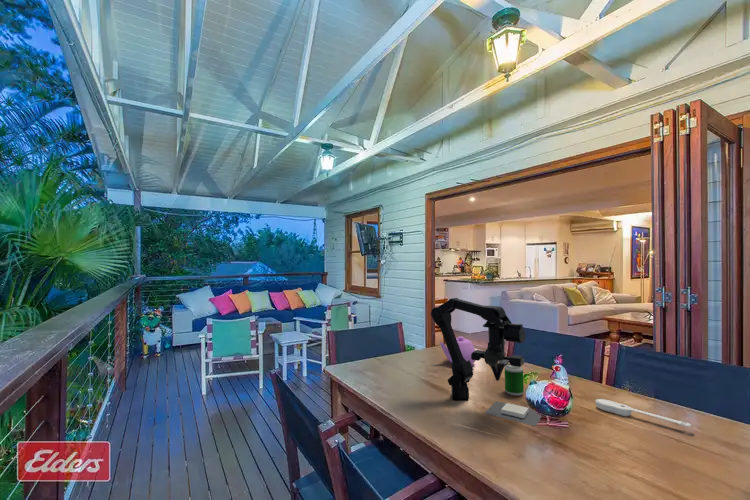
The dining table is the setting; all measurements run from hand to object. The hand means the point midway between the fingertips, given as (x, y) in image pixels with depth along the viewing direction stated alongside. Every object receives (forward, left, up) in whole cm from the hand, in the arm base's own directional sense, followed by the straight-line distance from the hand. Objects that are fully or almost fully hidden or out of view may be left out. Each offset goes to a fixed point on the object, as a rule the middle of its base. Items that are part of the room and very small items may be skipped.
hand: (497, 380), depth 136 cm
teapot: (-8, +61, -12) cm, 63 cm away
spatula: (+48, -4, -12) cm, 50 cm away
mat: (+5, -3, -11) cm, 13 cm away
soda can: (+11, +17, -12) cm, 23 cm away
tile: (+2, -1, -10) cm, 10 cm away
